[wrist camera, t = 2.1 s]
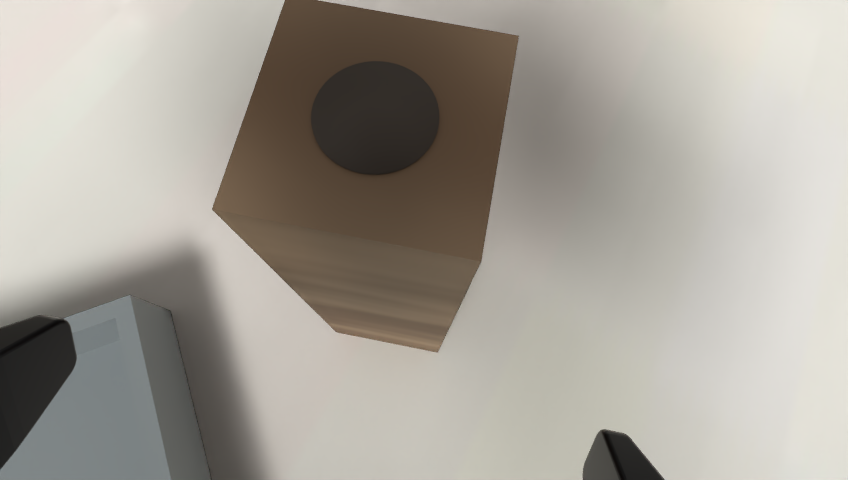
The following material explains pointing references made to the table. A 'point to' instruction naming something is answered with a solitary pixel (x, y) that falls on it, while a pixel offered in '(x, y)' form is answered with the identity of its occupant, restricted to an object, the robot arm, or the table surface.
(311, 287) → the block
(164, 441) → the tray
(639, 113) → the table surface
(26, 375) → the robot arm
